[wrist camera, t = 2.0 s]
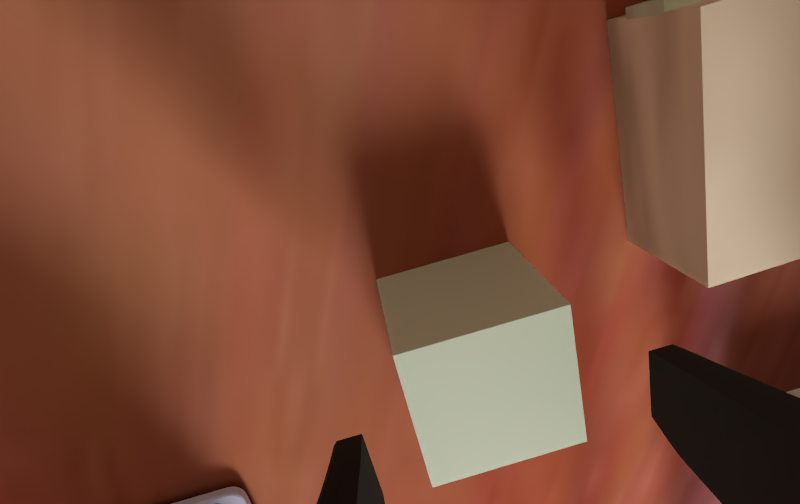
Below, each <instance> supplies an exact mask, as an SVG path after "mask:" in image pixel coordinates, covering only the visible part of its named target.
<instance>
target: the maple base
mask: <svg viewBox="0 0 800 504" xmlns="http://www.w3.org/2000/svg"><path fill="white" fill-rule="evenodd" d="M625 11H626V14H625V15H622V16H619V17H616V18H612V19H609V20H606V22H607V32H608V42H609V52H610V63H611V73H612V83H613V93H614V103H615V114H616V124H617V134H618V144H619V154H620V165H621V175H622V185H623V195H624V206H625V216H626V226H627V236H628V241H630V242H632V243H633V244H635V245H637V246H638V247H640V248H642V249H643V250H645V251H647V252H648V253H650V254H652V255H653V256H655V257H657V258H658V259H660V260H662V261H664V262H665V263H667V264H669V265H670V266H672V267H674V268H675V269H677V270H679V271H680V272H682V273H684V274H685V275H687V276H689V277H690V278H692V279H694V280H695V281H697V282H699V283H700V284H702V285H704V286H706V287H707V288H710V287H713V286H716V285H720V284H723V283H726V282H729V281H732V280H735V279H738V278H741V277H744V276H748V275H751V274H754V273H757V272H760V271H763V270H766V269H769V268H772V267H775V266H779V265H782V264H785V263H788V262H791V261H794V260H797V259H800V0H648V1H644V2H641V3H638V4H635V5H631V6H628V7H625Z"/></svg>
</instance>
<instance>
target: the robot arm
mask: <svg viewBox="0 0 800 504" xmlns="http://www.w3.org/2000/svg"><path fill="white" fill-rule="evenodd" d="M649 369H650V391H651V412H652V417H653V419H654V420H655V422H656V423H657V425H658V426H659V428H660V429H661V430H662V432H663V433H664V435H665V436H666V438H667V439H668V441H669V442H670V443H671V445H672V446H673V447H674V449H675V450H676V452H677V453H678V454H679V455H680V457H681V458H682V459H683V460H684V461H685V462H686V464H687V465H688V466H689V467H690V468H691V469H692V470H693V471H694V473H695V474H696V475H697V476H698V477H699V478H700V479H701V481H702V482H703V483H704V484H705V485H706V486H707V487H708V488H709V489H710V491H711V492H712V493H713V494H714V495H715V496H716V497H717V498H718V500H719V501H720V502H721V503H722V504H800V398H799V397H796V396H794V395H791V394H789V393H786V392H784V391H781V390H779V389H776V388H774V387H771V386H769V385H766V384H764V383H762V382H759V381H757V380H755V379H752V378H750V377H747V376H745V375H743V374H740V373H738V372H736V371H734V370H731V369H729V368H727V367H724V366H722V365H720V364H718V363H715V362H713V361H711V360H708V359H706V358H704V357H702V356H699V355H697V354H695V353H692V352H690V351H688V350H685V349H683V348H680V347H678V346H675V345H673V344H672V345H669V346H665V347H662V348H658V349H655V350H651V351H649ZM216 503H219V504H251V502H250V500H249V498H248V496H247V494H246V492H245V491H244V490H243V489H241V488H239V487H234V486H232V487H227V488H223V489H220V490H216V491H213V492H210V493H206V494H203V495H199V496H196V497H192V498H189V499H186V500H182V501H179V502H175V503H172V504H216ZM317 504H385V502H384V496H383V493H382V490H381V487H380V484H379V481H378V478H377V476H376V473H375V470H374V467H373V464H372V461H371V459H370V456H369V453H368V450H367V447H366V444H365V442H364V439H363V436H362V434H360V435H357V436H353V437H350V438H346V439H343V440H339V441H337V442H336V444H335V445H334V448H333V452H332V456H331V460H330V463H329V467H328V470H327V474H326V477H325V480H324V483H323V487H322V490H321V493H320V496H319V499H318V501H317Z"/></svg>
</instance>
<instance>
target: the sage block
mask: <svg viewBox="0 0 800 504" xmlns="http://www.w3.org/2000/svg"><path fill="white" fill-rule="evenodd" d="M376 281H377V285H378V290H379V295H380V299H381V304H382V309H383V313H384V318H385V322H386V327H387V332H388V336H389V341H390V346H391V350H392V355H393V359H394V362H395V365H396V368H397V372H398V375H399V378H400V382H401V385H402V388H403V392H404V395H405V398H406V402H407V405H408V408H409V411H410V415H411V418H412V421H413V425H414V428H415V431H416V435H417V438H418V441H419V445H420V448H421V451H422V455H423V458H424V461H425V464H426V468H427V471H428V474H429V478H430V481H431V484H432V488H433V487H436V486H439V485H443V484H446V483H449V482H453V481H456V480H459V479H463V478H466V477H469V476H473V475H476V474H479V473H483V472H486V471H489V470H493V469H496V468H499V467H503V466H506V465H509V464H513V463H516V462H520V461H523V460H526V459H530V458H533V457H536V456H540V455H543V454H546V453H550V452H553V451H556V450H560V449H563V448H566V447H570V446H573V445H576V444H580V443H583V442H586V441H587V436H586V428H585V420H584V412H583V403H582V395H581V387H580V379H579V371H578V362H577V354H576V346H575V338H574V330H573V321H572V313H571V305H570V304H569V303H568V301H567V300H566V299H565V298H564V297H563V296H562V295H561V294H560V293H559V292H558V291H557V290H556V289H555V288H554V287H553V286H552V285H551V284H550V283H549V282H548V281H547V280H546V279H545V278H544V277H543V276H542V275H541V274H540V273H539V272H538V271H537V270H536V269H535V268H534V267H533V266H532V265H531V264H530V263H529V262H528V261H527V260H526V259H525V258H524V257H523V256H522V255H521V254H520V253H519V252H518V251H517V249H516V248H515V247H514V246H513V245H512V244H511V243H510V242H505V243H502V244H498V245H495V246H491V247H488V248H484V249H481V250H477V251H474V252H470V253H467V254H463V255H460V256H456V257H453V258H449V259H446V260H442V261H439V262H435V263H432V264H428V265H425V266H421V267H418V268H414V269H411V270H407V271H404V272H400V273H397V274H393V275H390V276H386V277H383V278H379V279H376Z"/></svg>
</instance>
